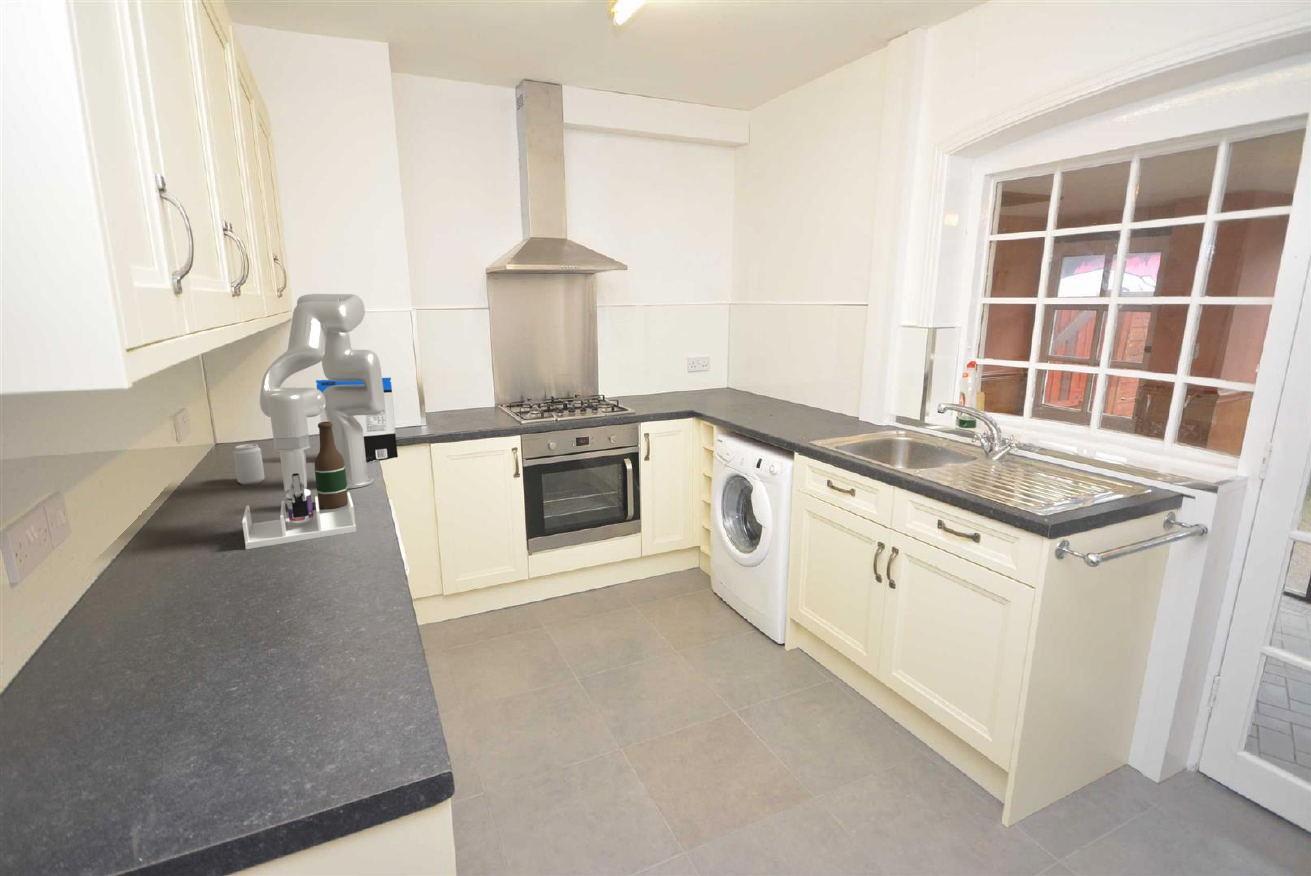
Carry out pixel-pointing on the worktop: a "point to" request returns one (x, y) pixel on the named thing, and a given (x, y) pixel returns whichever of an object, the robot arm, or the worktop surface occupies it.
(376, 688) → the worktop surface
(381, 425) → the protein powder
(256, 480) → the can
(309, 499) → the pill bottle
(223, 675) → the worktop surface
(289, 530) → the shelf rack
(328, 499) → the beer bottle
